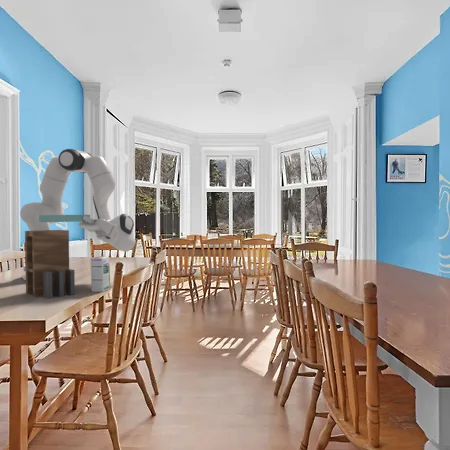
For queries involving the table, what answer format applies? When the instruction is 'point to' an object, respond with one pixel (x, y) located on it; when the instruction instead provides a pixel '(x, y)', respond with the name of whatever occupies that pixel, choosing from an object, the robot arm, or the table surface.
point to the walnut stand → (45, 257)
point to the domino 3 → (70, 281)
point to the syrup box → (100, 274)
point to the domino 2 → (59, 282)
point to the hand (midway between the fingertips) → (80, 217)
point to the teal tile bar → (61, 218)
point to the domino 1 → (47, 284)
